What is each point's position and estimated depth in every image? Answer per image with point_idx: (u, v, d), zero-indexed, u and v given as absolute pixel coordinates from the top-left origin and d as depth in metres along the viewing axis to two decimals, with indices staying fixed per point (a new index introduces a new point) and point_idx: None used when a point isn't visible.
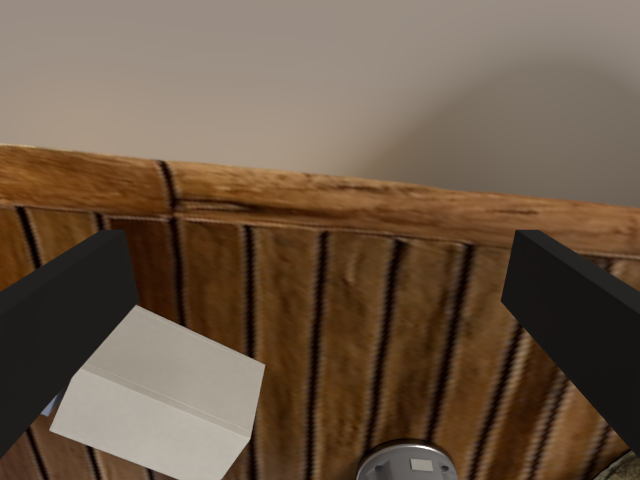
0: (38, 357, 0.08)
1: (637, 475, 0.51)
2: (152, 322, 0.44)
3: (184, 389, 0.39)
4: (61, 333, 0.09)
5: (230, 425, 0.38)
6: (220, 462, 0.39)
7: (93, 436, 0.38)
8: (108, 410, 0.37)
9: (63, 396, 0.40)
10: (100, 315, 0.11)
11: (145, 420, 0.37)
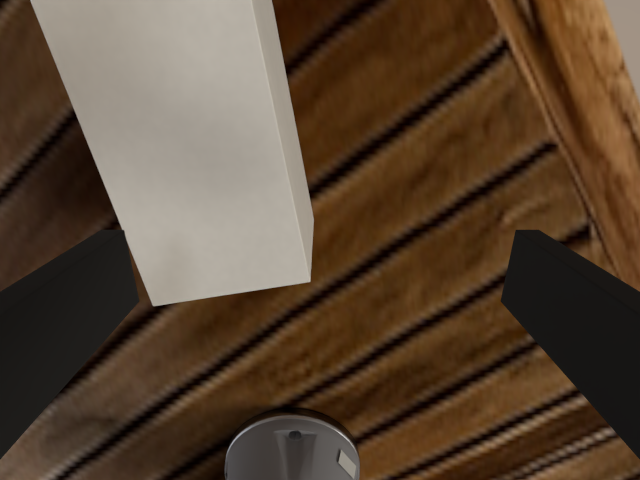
0: (38, 357, 0.08)
1: None
2: (273, 16, 0.25)
3: (284, 130, 0.20)
4: (60, 334, 0.09)
5: (302, 239, 0.21)
6: (226, 276, 0.21)
7: (78, 34, 0.16)
8: (168, 19, 0.16)
9: None
10: (100, 315, 0.11)
11: (207, 104, 0.18)
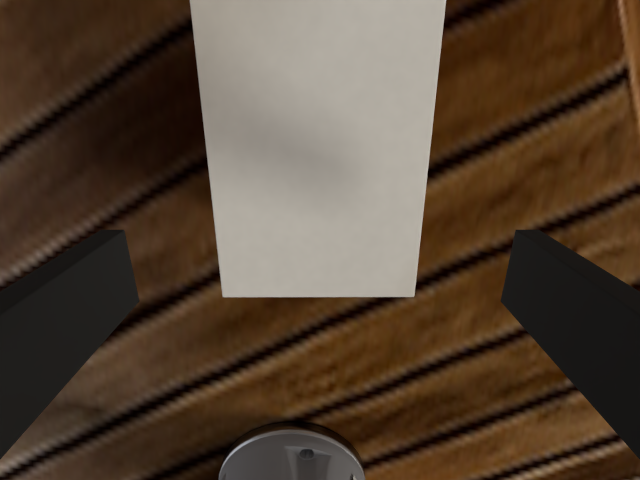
0: (38, 357, 0.08)
1: None
2: None
3: None
4: (60, 334, 0.09)
5: None
6: (319, 275, 0.18)
7: None
8: None
9: None
10: (100, 315, 0.11)
11: (360, 68, 0.14)
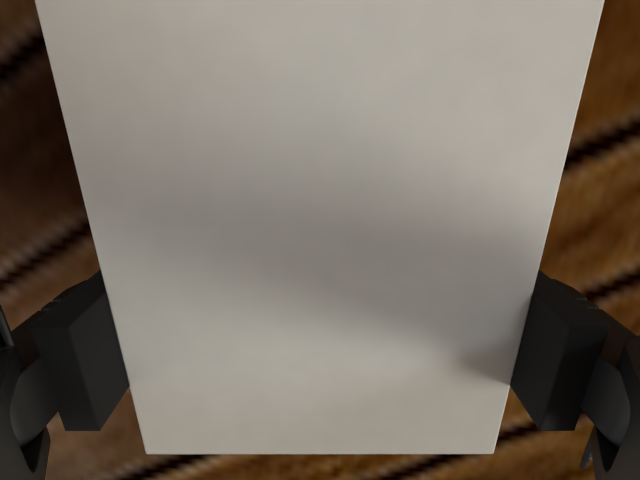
0: None
1: None
2: None
3: None
4: None
5: None
6: (322, 422, 0.10)
7: None
8: None
9: None
10: None
11: (419, 20, 0.06)
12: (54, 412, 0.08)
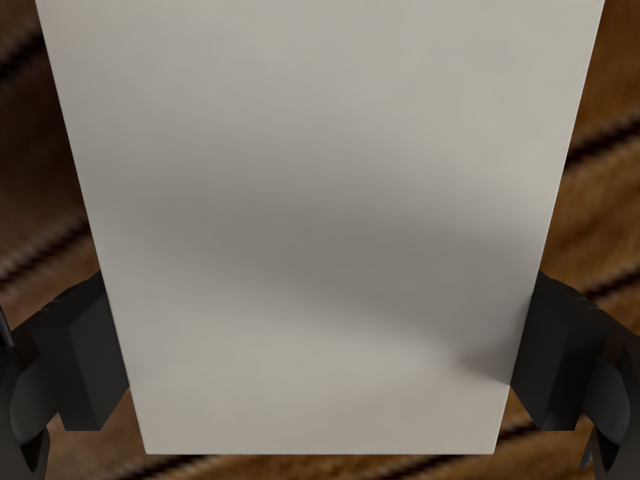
0: None
1: None
2: None
3: None
4: None
5: None
6: (322, 422, 0.10)
7: None
8: None
9: None
10: None
11: (419, 21, 0.06)
12: (54, 413, 0.08)
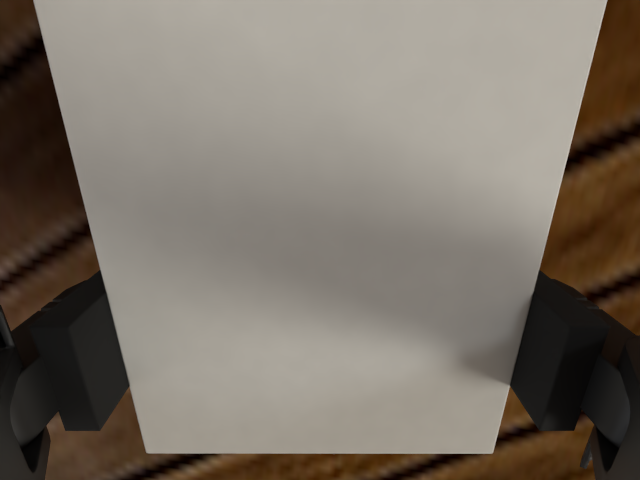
0: None
1: None
2: None
3: None
4: None
5: None
6: (322, 422, 0.10)
7: None
8: None
9: None
10: None
11: (420, 20, 0.06)
12: (54, 413, 0.08)
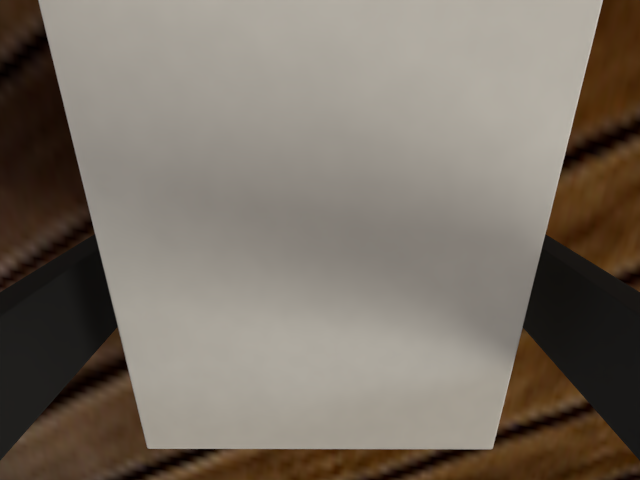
0: (39, 357, 0.08)
1: None
2: None
3: None
4: (62, 333, 0.09)
5: None
6: (322, 417, 0.10)
7: None
8: None
9: None
10: (101, 315, 0.11)
11: (419, 16, 0.06)
12: None
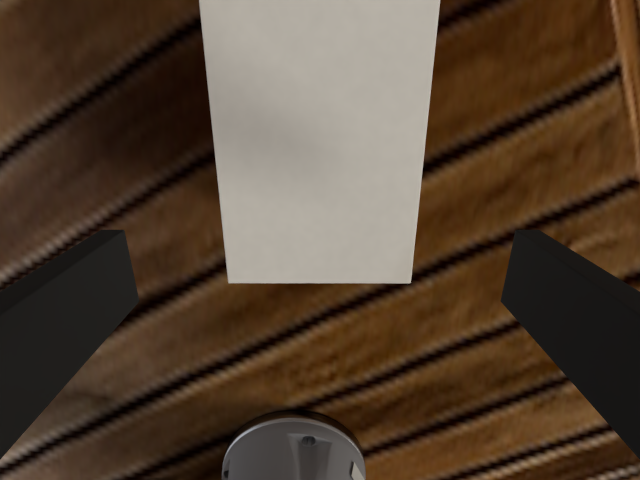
0: (38, 357, 0.08)
1: None
2: None
3: None
4: (60, 333, 0.09)
5: None
6: (320, 262, 0.19)
7: None
8: None
9: None
10: (100, 315, 0.11)
11: (359, 64, 0.15)
12: None
